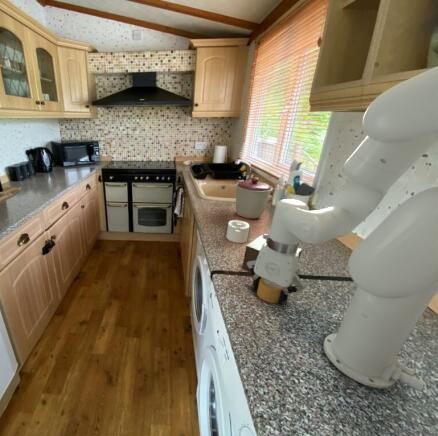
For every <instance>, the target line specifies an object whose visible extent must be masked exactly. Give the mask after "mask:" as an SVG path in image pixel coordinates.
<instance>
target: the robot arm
mask: <svg viewBox="0 0 438 436" xmlns="http://www.w3.org/2000/svg"><path fill="white" fill-rule="evenodd" d="M361 125H362V129H363V131H364V134H365V135H366V137H365V138H364V140H363V141H362V142H361V143H360V144H359V145H358V147H357V148H356V149H355V150H354V152H353V153H352V154H351V155H350V156H349V158H347V160H346V161H345V162H344V163H343V166H342V172H343V174H344V175H345V177H346V184H345V185H344V188H343V189H342V191H341V192H340V194H338V196H337V197H336V198H335V199H334V200H333V201H332V203H331V204H329V206H328V207H325V208H320V209H316V210H310V208H309V205H308V204H307V203H306V202H304V201H301V200H298V199H292V198H291V199H290V198H285V199H280V200H278V201H277V202H276V204H275V207H274V211H273V214H272V215H273V216H272V219H271V223H270V227H269V233H268V234H266V233H264V234H262V236H263V238H264V239H266V243H264V244H263V245H262V247H261V250H260V252H259V255H258V257H257V259H255V260H251V261H249V262H247V265H248V267H249V269H250V271H249V272H250V274H251V275H252V279H253V282H252V286H253V287H252V290H253V291H254V292H255V291H256V292H257V290H258V286H259V281H260V278H261V277H262V278H265V279H267V280H269V281H271V282H273V283H275V284H277V285H280V286H282V287H283V292H282V293H281V296H280V299H279V302H278V304H279V305H282V304H283V303H284V302H285V303H286V302H287V301H288V297H289V295H290V294H293V293H297V292H300V291H303V290H305V288H306V285H305V283H304V282H303V281H302V279H301V278H300V277H299V275H298V274H297V271H298V266H299V262H300V259H299V252H298V251H297V249H298V248H299V245H300V242H303V243H305V244H309V245H320V244H323V243H326V242H327V243H328V242H330V241H332V240H335V239H338V238H341V237H344V236H346V235H349V234H350V233H351V232H353V231H354V230H355V229H356V228H357V227H358V226H360V225H361V223H363V222H364V221H365V220H366V219H367V218H368V217H369V216H370V215H371V214H372V213H373V212H374V211H375V210H376V209H377V207H379V205H380V204H381V202H382V201H383V200H384V198H385V197H386V196H387V194H388V192H389V191H390V188H391V187H393V185H394V184H395V183H396V182H397V181H399V180H400V179H401V177H402V176H403V175H404V174H405V173H406V172H407V171H408V170H409V169H410V168H412V166H414V165H415V164H416V163H417V162H418V161H419V160H420V159H421V158H422V157H423V156H424V155H425V154H426V153H427V152H428V151H429V150H430V149H431V148H432V147H433V146H434V145H435V144H436V143H437V142H438V65H437V66H435V67H432V68H430V69H428V70H426V71H423V72H421V73H419V74H416V75H415V76H412V77H410V78H408V79H405V80H404V81H402V82H399V83H397V84H396V85H394V86H392V87H390V88H388V89H387V90H384V91H383V92H382V93H381V94H380V95H378V96H377V97H376V98H374V99H373V100H372V101H371V103H370V104H369V106H368V107H367V108H366V110H365V112H364V114H363V118H362V123H361ZM298 261H299V262H298ZM254 265H255V267H254ZM347 266H348V267H347V268H348V272H349V273H348V274H349V276H350V278H351V279H352V281H353V282H354V283H355V285H356V286H357V287H356V289H355V291H354V293H353V296H352V298H351V300H350V303H349V305H348V307H347V310H346V311H345V312H346V313H345V314H344V316H343V318H342V321H341V323H340V326H339V328H338V330H337V332H336V333H331V334H329V335H327V336H326V337H325V338H324V340H323V345H322V346H323V351H324V353H325V355H326V357H327V358H328V360H329V361H330V362H331V363H332V364H333V365H334V366H335V367H336V368H337V369H338V370H339V371H340V372H342V373H343V374H344V375H345V376H347V377H349V378H350V379H351V380H354V381H355V382H358V383H360V384H362V385H365V386H368V387H371V388H376V389H388V388H391V387H393V386H394V385H395V383H397V381H400V382H402V383H404V384H406V385H407V386H409V387H410V388H412V389H413V390H416V391H418V392H422V391H423V389H424V386H425V383H424V381H422V380H421V379H419V378H417V377H415V372H416V371H415V369H413V368H410V367H408V366H406V365H404V364H401V363H400V361H399V360H397V358H398V355H399V354H400V352H401V350H402V348H403V347H404V345H405V344H406V342H407V341H408V338H409V337H410V335H411V334H412V332H413V330H414V328H415V327H416V325H417V324H418V322H420V319H421V317H422V316H423V314H424V313H425V311H426V309H427V308H428V306H429V304H430V303H431V301H432V300H433V299H434V297H435V296H436V295H437V293H438V185H437V186H433V187H430V188H426V189H424V190H421V191H419V192H417V193H415V194H414V195H412V196H409V198H407V199H406V200H405V201H403V202H402V203H401V204H400V205H398V206H397V207H396V208H395V209H394V210H393V211H391V213H390V214H389V215H387V216H386V217H385V218H384V219H383V221H381V222H380V223H379V224H378V225H377V227H375V228H374V229H373V230H372V231H371V232H370V233H369V234H368V235H367V236H366V237H365V238H364V239H363V240H362V241H361V242H360V243H359V244H358V245H357V246H356V247H355V248H354V249H353V251H352V252H351V254H350V256H349V257H348V263H347ZM293 282H294V283H295V284H296V285H292V283H293Z"/></svg>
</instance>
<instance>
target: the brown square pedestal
mask: <svg viewBox="0 0 438 436" xmlns="http://www.w3.org/2000/svg"><path fill="white" fill-rule="evenodd" d="M264 243H266V239H264V238H263V234H262V235H260V236H258V237H256V238H255V239H253V240H252V241H251V242H249V243H248V244H247V245H246V246H245V250H244V255H243V260H242V266H241V267H242V269H245V270H247V271H248V272H250V269H249V267H248V265H247V262H249V261H251V260H255V259H257V257H258V255H259V252H260V250H261V247H262V245H263V244H264ZM297 251H298V252H299V261H298V263H299V262H300V258H301V255H302V253H303V248H300V247H298V249H297ZM254 267H255V265H254Z"/></svg>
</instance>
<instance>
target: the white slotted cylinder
mask: <svg viewBox="0 0 438 436" xmlns="http://www.w3.org/2000/svg"><path fill="white" fill-rule="evenodd" d="M249 230H250V224H249V222H246V221H243V220H240V219H239V220H238V219H232V220H229V221H228V223H227V229H226V236H225V238H226V239H227V240H228V241H230V242H232V243H238V244H241V243H246V242H247V241H248V237H249Z"/></svg>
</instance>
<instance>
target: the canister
mask: <svg viewBox="0 0 438 436" xmlns="http://www.w3.org/2000/svg"><path fill="white" fill-rule="evenodd" d="M259 180H260V179H259V178H258V177H255V176H254V177H252V178H251V180H241V181H239V182H237V183H236V184H235V187H236V194H235V212H236V214H237V215H238V216H240V217H242V218H245V219H251V220H252V219H259V218H261V217H262V216H263V214H264V212H265V209H266V206H267V204H268V200H269V198H270V194H271V192H272V191H273V189H274V187H272V186H271V185H270V184H268V183H266V182H264V181H263V182H262V181H259Z"/></svg>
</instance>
